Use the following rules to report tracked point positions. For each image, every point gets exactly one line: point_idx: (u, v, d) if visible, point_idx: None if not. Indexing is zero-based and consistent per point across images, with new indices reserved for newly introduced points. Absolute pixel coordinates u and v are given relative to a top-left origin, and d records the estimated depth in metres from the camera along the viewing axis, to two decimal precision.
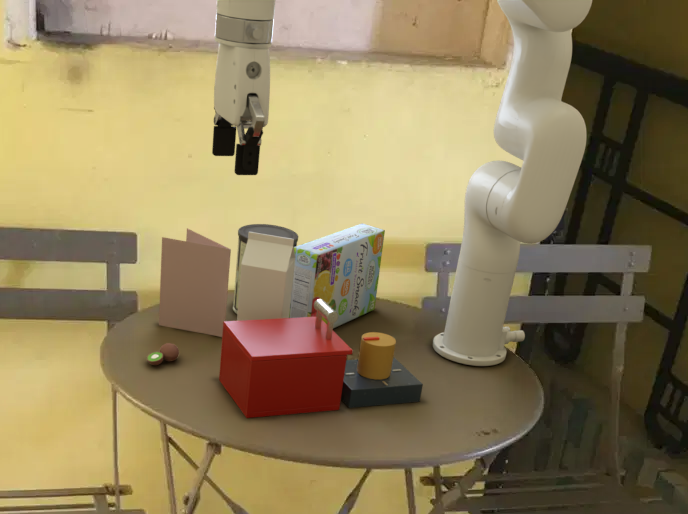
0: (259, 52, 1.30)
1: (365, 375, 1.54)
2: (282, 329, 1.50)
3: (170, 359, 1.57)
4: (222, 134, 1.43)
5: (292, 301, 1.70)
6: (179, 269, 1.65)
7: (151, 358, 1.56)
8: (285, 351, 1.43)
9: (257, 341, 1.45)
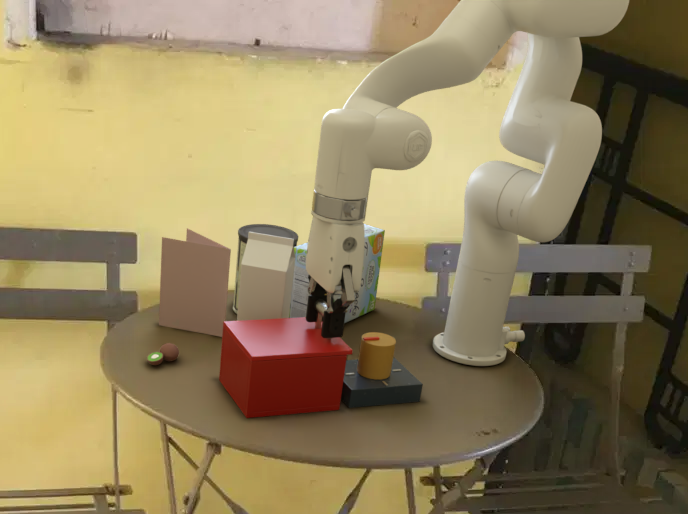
0: (356, 228, 1.38)
1: (365, 375, 1.54)
2: (282, 329, 1.50)
3: (170, 359, 1.57)
4: None
5: (292, 301, 1.70)
6: (179, 269, 1.65)
7: (151, 358, 1.56)
8: (285, 351, 1.43)
9: (257, 341, 1.45)
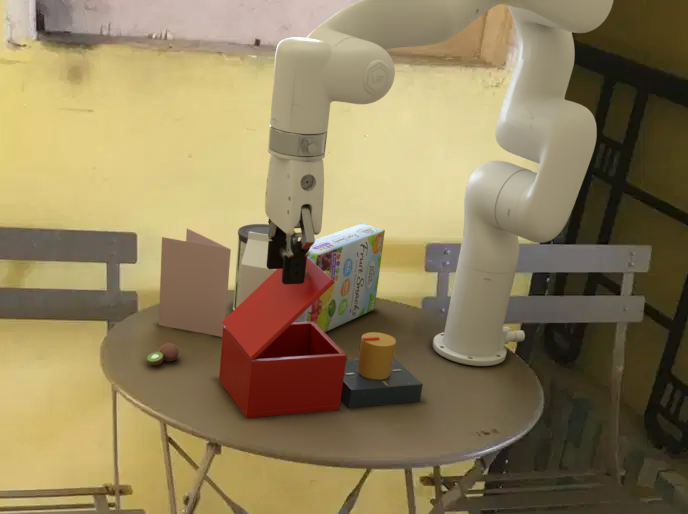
0: (314, 165, 1.31)
1: (365, 375, 1.54)
2: (269, 295, 1.46)
3: (170, 359, 1.57)
4: (277, 248, 1.43)
5: None
6: (179, 269, 1.65)
7: (151, 358, 1.56)
8: (276, 327, 1.40)
9: (252, 331, 1.44)
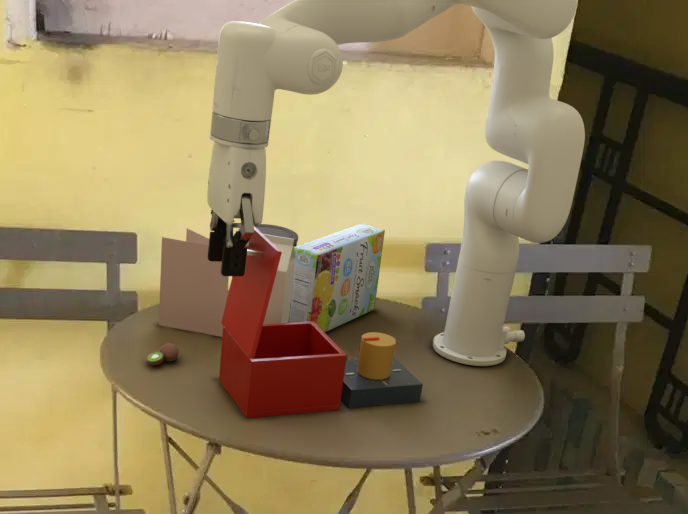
0: (255, 152, 1.27)
1: (365, 375, 1.54)
2: (242, 282, 1.43)
3: (170, 359, 1.57)
4: (218, 240, 1.39)
5: (292, 301, 1.70)
6: (179, 269, 1.65)
7: (151, 358, 1.56)
8: (256, 319, 1.39)
9: (242, 328, 1.43)
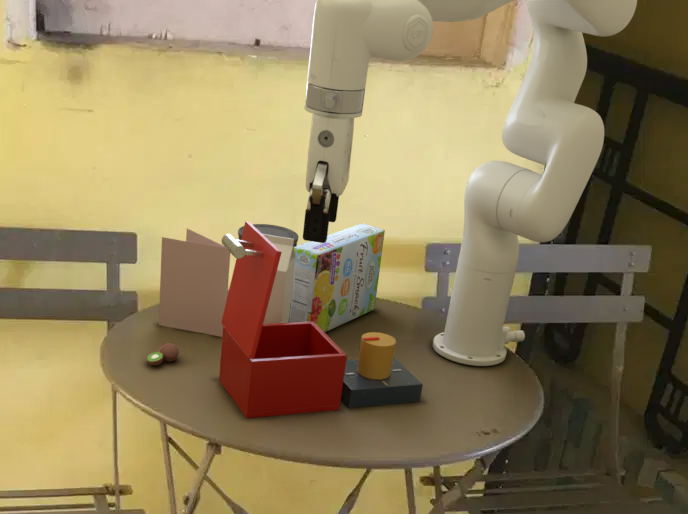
0: (333, 121, 1.28)
1: (365, 375, 1.54)
2: (242, 283, 1.43)
3: (170, 359, 1.57)
4: None
5: (292, 301, 1.70)
6: (179, 269, 1.65)
7: (151, 358, 1.56)
8: (256, 319, 1.39)
9: (242, 328, 1.43)
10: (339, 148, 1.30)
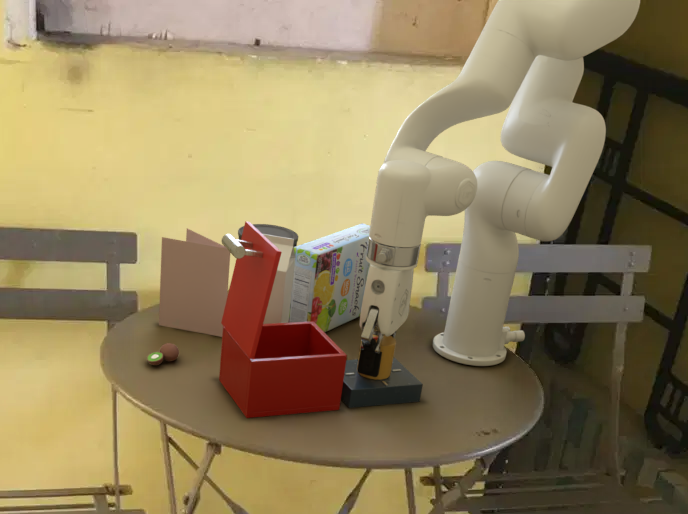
0: (385, 273, 1.43)
1: (365, 375, 1.54)
2: (242, 283, 1.43)
3: (170, 359, 1.57)
4: None
5: (292, 301, 1.70)
6: (179, 269, 1.65)
7: (151, 358, 1.56)
8: (256, 319, 1.39)
9: (242, 328, 1.43)
10: (389, 296, 1.44)
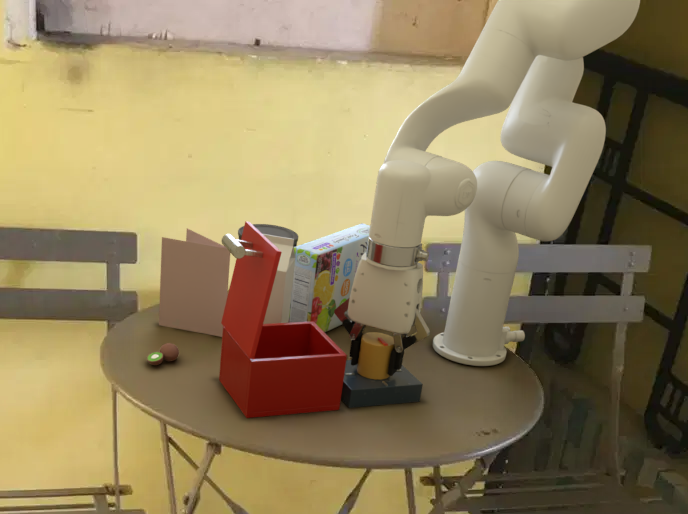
0: (422, 269, 1.46)
1: (388, 375, 1.55)
2: (242, 283, 1.43)
3: (170, 359, 1.57)
4: None
5: (292, 301, 1.70)
6: (179, 269, 1.65)
7: (151, 358, 1.56)
8: (256, 319, 1.39)
9: (242, 328, 1.43)
10: (422, 288, 1.48)
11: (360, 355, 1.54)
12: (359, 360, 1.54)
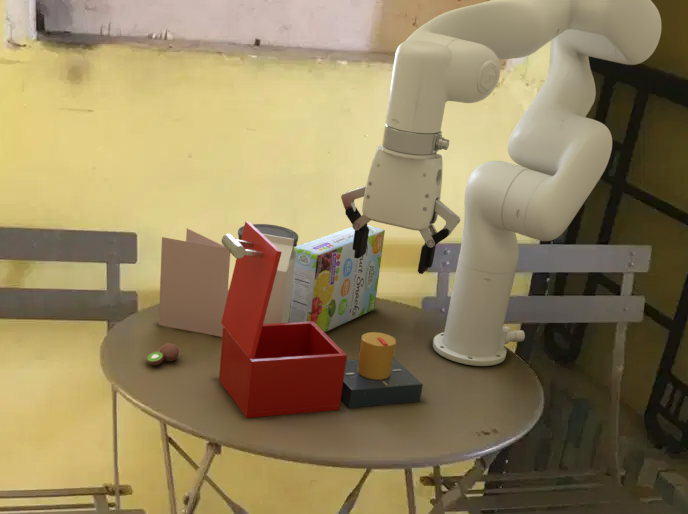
0: (441, 159, 1.38)
1: (388, 375, 1.54)
2: (242, 283, 1.43)
3: (170, 359, 1.57)
4: (364, 237, 1.46)
5: (292, 301, 1.70)
6: (179, 269, 1.65)
7: (151, 358, 1.56)
8: (256, 319, 1.39)
9: (242, 328, 1.43)
10: (441, 181, 1.40)
11: (360, 355, 1.54)
12: (359, 360, 1.54)
